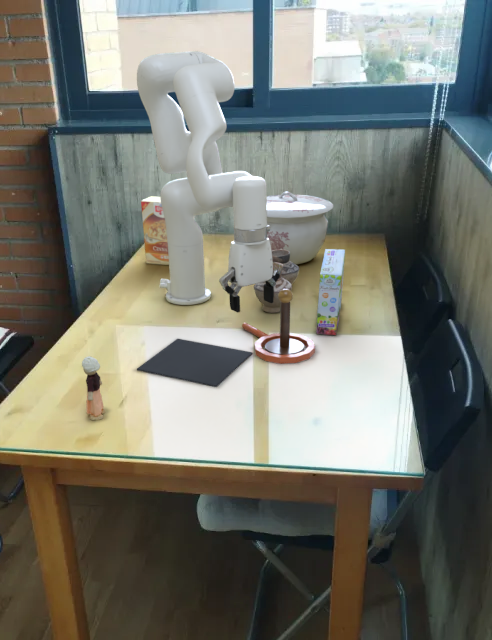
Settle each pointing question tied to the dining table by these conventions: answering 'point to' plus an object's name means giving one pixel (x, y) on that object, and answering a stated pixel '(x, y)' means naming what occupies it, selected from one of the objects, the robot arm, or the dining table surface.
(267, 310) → the pottery
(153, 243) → the coffeecake box
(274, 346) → the coat peg
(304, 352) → the orange ring with handle
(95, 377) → the grandmother figurine
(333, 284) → the snack box
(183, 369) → the mat
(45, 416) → the dining table surface
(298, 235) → the chamber pot
